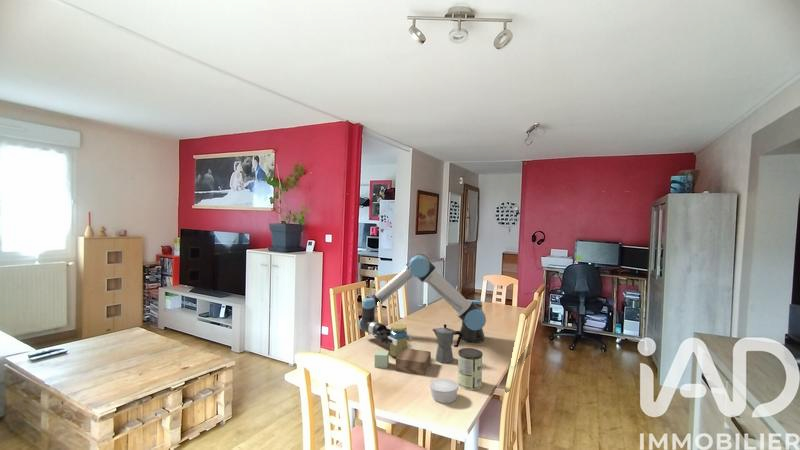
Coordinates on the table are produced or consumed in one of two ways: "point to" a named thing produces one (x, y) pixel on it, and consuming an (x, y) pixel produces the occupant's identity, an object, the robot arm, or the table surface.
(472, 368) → the coffee can
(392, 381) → the table surface
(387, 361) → the sage cube
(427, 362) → the walnut block
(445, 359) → the coffeepot
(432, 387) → the ramekin
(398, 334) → the jar
